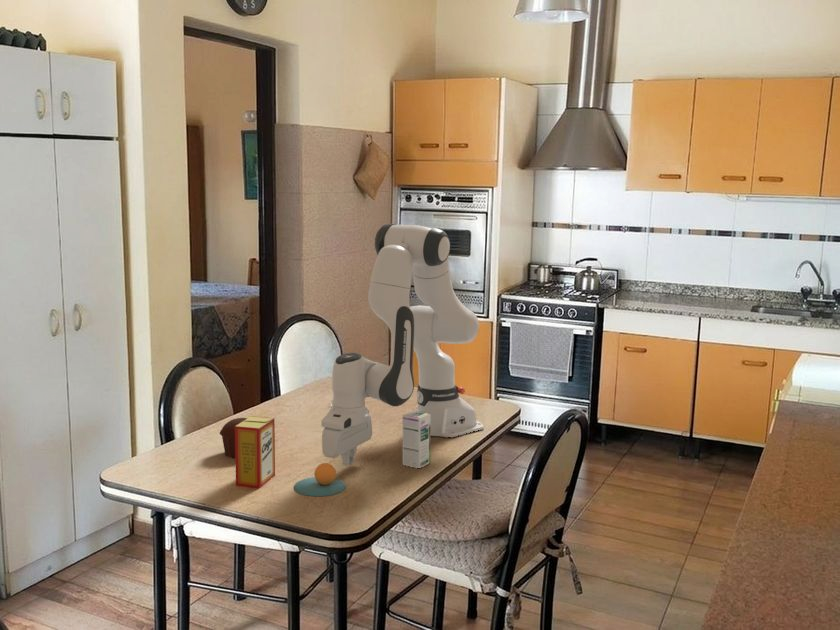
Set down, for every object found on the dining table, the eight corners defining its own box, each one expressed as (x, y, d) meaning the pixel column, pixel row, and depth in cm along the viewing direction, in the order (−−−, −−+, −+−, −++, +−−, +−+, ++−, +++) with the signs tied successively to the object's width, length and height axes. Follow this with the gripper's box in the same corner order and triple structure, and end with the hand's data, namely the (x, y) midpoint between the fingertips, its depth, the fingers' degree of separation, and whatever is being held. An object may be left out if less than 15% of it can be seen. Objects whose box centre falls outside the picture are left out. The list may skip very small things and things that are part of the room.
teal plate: (333, 474, 218) (333, 473, 218) (354, 490, 207) (354, 490, 207) (286, 482, 212) (286, 481, 212) (305, 499, 200) (305, 499, 200)
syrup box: (419, 469, 223) (420, 417, 221) (401, 465, 226) (402, 414, 224) (430, 463, 228) (431, 412, 225) (412, 459, 231) (413, 409, 228)
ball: (321, 492, 211) (331, 477, 215) (333, 485, 207) (343, 471, 211) (306, 477, 210) (317, 462, 214) (318, 470, 206) (329, 456, 210)
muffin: (248, 444, 241) (247, 411, 239) (269, 454, 233) (269, 420, 232) (212, 453, 233) (211, 419, 231) (233, 463, 225) (232, 428, 223)
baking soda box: (259, 488, 207) (258, 427, 205) (235, 485, 209) (234, 424, 206) (275, 475, 217) (274, 416, 214) (252, 473, 218) (251, 414, 215)
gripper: (358, 403, 230) (357, 451, 232) (317, 422, 212) (317, 473, 214) (378, 406, 227) (377, 454, 229) (338, 425, 209) (338, 477, 211)
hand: (348, 464), depth 221 cm, fingers closed
